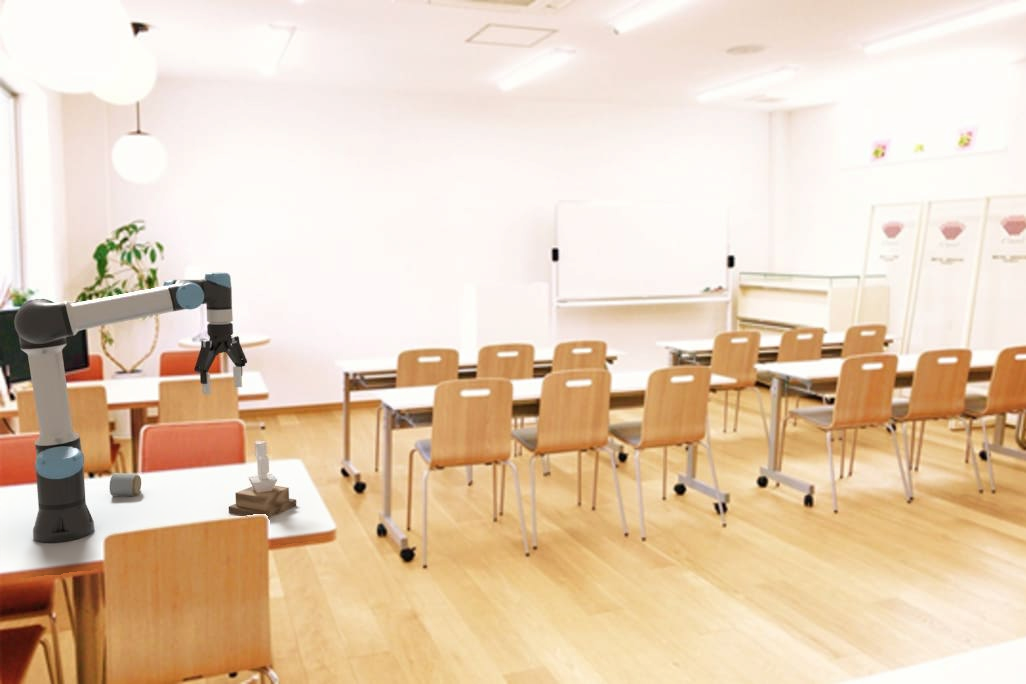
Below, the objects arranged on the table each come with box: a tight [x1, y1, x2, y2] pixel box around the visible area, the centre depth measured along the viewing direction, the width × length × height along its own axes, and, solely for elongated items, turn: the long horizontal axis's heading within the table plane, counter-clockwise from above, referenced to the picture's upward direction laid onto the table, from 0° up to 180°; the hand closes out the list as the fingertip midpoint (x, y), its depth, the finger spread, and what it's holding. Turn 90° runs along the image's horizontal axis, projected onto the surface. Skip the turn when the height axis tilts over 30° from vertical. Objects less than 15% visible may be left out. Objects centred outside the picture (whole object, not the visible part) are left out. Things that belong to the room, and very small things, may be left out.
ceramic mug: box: [109, 472, 142, 497], centre depth 275 cm, size 10×8×7 cm
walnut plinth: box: [228, 485, 297, 519], centre depth 260 cm, size 14×14×6 cm
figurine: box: [247, 440, 278, 493], centre depth 259 cm, size 7×9×15 cm
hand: (222, 390), depth 267 cm, fingers open, 13 cm apart
